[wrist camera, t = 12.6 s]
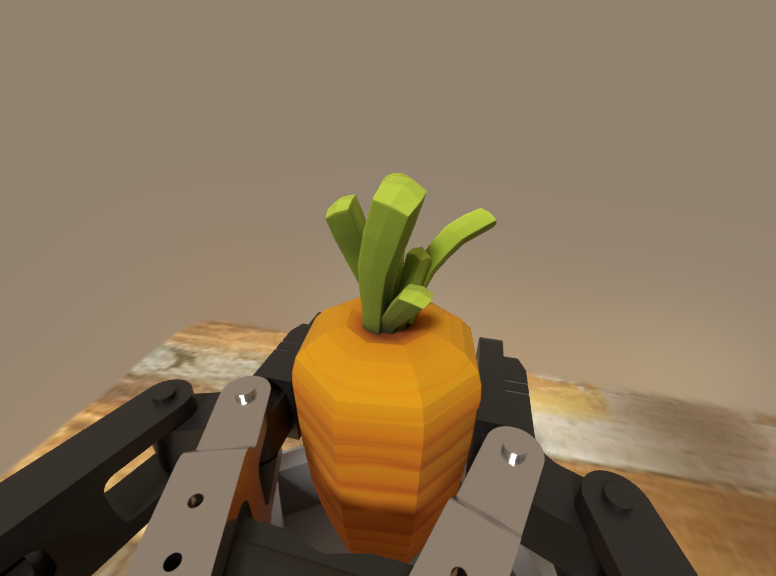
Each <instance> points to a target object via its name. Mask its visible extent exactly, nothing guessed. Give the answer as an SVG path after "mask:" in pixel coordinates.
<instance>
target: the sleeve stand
mask: <svg viewBox="0 0 776 576" xmlns="http://www.w3.org/2000/svg"><path fill="white" fill-rule="evenodd" d="M466 463H467V460H466ZM466 463H465V467H464V471H463V474H462V478H461V481H460V485H459V489H458V492H459V490H460V488H461V486H462V484H463V482H464V480H465V478H466ZM458 492H457V493H458ZM271 524H272V525H276V526H279V527H283V528H285V529H287V530H288V531H290V532H291V533H293V534H294V535H296V536H297V537H299V538H300V539H301V540H303V541H304V542H306V543H307V544H309V545H310V546H312V547H313V548H315V549H316V550H317V551H319V552H321V553H325V554H347V553H350V552H349V551H348V549H347V548H346V546H345V545H344V543H343V542H342V540H341V539H340V537H339V535H338V534H337V532H336V531H335V529H334V527H333V525H332V523H331V521H330V519H329V517H328V515H327V513H326V512H325V510H324V508H323V506H322V503H321V501H320V498H319V496H318V494H317V491H316V489H315V486H314V484H313V482H312V479H311V476H310V471H309V467H308V462H307V458H306V453H305V449H304V445H303V446H300V447H296V448H293V449H289V450H286V451H283V452H282V458H281V464H280V469H279V475H278V480H277V486H276V491H275V497H274V502H273V508H272V514H271ZM422 550H423V549H422ZM422 550H421V551H420V552H419V553H418V554H417V555H416V556H415V557H414V558H413V559H412V560H411V561H410V562H409V563H408V564H410V565H415V563H416V561H417V559H418V557H419V555H420V554H421V552H422ZM510 576H557V573H556V571H555V568H554V565H553V564H552V563H550V562H549V561H547V560H545V559H544V558H542V557H541V556H539V555H537V554H536V553H534V552H532V551H531V550H529V549H528V548H526V547H524V546H523V545H521V544H520V545H519V548H518V551H517V554H516V558H515V561H514V564H513V567H512V571H511V574H510Z"/></svg>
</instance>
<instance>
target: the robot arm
mask: <svg viewBox="0 0 776 576" xmlns="http://www.w3.org/2000/svg"><path fill="white" fill-rule="evenodd" d="M319 314H321V312H319V313H318V314H317V315H316V316H315V317H314V318H313V320H312V321H311V322H310V323H309V325H308V324H301V325H300V326H298V327H296V328H295V329H293V330H291V331H290V332H289V333H288V335H287V336H286V337H285V338H284V339H283V342H281V343H280V344H279V345H278V346H277V349H276V350H274V351H273V352H272V354H271V355H270V356H269V357H268V358H267V359H266V361H265V362H264V363H263V364H262V365H261V367H260V368H259V369H258V370H257V371H256V373H255V374H254V375H253V376H246V377H242V378H239V379H236V380H234V381H232V382H231V383H229V384H228V385H227V386H225V387H224V389H223V390H222V391H221V392H217V393H201V394H194V391H193V388H192V385H191V384H190V383H189V382H187V381H185V380H178V379H176V380H168V381H164V382H161V383H158V384H156V385H154V386H152V387H151V388H149V389H147V390H146V391H144V392H143V393H141V394H139V395H138V396H136V397H135V398H133V399H131V400H130V401H128V402H127V403H125V404H124V405H122V406H120V407H119V408H117V409H116V410H114V411H113V412H111V413H109V414H108V415H106V416H105V417H103V418H101V419H100V420H98V421H97V422H95V423H94V424H92V425H90V426H89V427H87V428H86V429H84V430H83V431H81V432H79V433H78V434H76V435H75V436H73V437H71V438H70V439H68V440H67V441H65V442H64V443H62V444H60V445H59V446H57V447H56V448H54V449H53V450H51V451H49V452H48V453H46V454H45V455H43V456H41V457H40V458H38V459H37V460H35V461H34V462H32V463H30V464H29V465H27V466H26V467H24V468H23V469H21V470H19V471H18V472H16V473H15V474H13V475H11V476H10V477H8V478H7V479H5V480H4V481H2V482H0V576H91V575H92V574H94V573H95V572H96V571H97V570H98V569H99V568H100V567H101V566H102V565H103V564H104V563H105V562H107V561H108V560H109V559H110V558H111V557H112V556H113V555H114V554H115V553H116V552H117V551H118V550H119V549H121V548H122V547H123V546H124V545H125V544H126V543H127V542H128V541H129V540H130V539H131V538H132V537H134V536H135V535H136V534H137V533H138V532H139V531H140V530H141V529H142V528H143V527H144V526H145V525H146V524H148V523H149V524H148V526H147V528H146V530H145V532H144V534H143V537H142V539H141V541H140V543H139V545H138V547H137V549H136V552H135V554H134V556H133V558H132V560H131V562H130V565H129V567H128V569H127V571H126V573H125V575H124V576H510V574H511V571H512V567H513V564H514V561H515V558H516V554H517V551H518V548H519V545H520V544H521V545H523V546H524V547H526V548H528V549H529V550H531V551H532V552H534V553H536V554H537V555H539V556H541V557H542V558H544V559H545V560H547V561H549V562H550V563H552V564H553V565H554V568H555V571H556V573H557V576H698V575H697V573H696V572H695V570H694V569H693V567H692V565H691V564H690V562H689V561H688V559H687V558H686V556H685V555H684V553H683V552H682V550H681V549H680V547H679V545H678V544H677V542H676V541H675V539H674V538H673V536H672V535H671V533H670V532H669V530H668V529H667V527H666V525H665V524H664V522H663V521H662V519H661V518H660V516H659V515H658V513H657V512H656V510H655V508H654V507H653V505H652V504H651V502H650V501H649V499H648V498H647V497H646V495H645V494H644V493H643V492H642V491H641V490H640V489H639V488H638V487H637V486H636V485H635V484H633V483H632V482H631V481H629V480H627V479H626V478H624V477H622V476H620V475H618V474H615V473H613V472H609V471H602V470H598V471H592V472H590V473H588V474H587V475H586V476H585V477H582V476H580V475H578V474H576V473H574V472H572V471H570V470H568V469H566V468H564V467H562V466H560V465H558V464H557V463H555V462H554V461H552V460H551V459H550V458H549V457H548V456H547V455H546V454H545V453H544V452H543V450H542V447H541V446H540V444H539V443H538V442H537V441H536V439H535V435H534V428H533V420H532V413H531V405H530V397H529V390H528V385H527V384H528V382H527V375H526V370H525V369H524V367H523V366H522V364H521V363H520V361H519V360H518V359H516V358H509V357H504V356H503V342H502V341H501V340H495V339H488V338H482V337H480V338H479V342H478V348H477V354H476V360H477V365H478V371H479V376H480V382H481V400H480V405H479V408H478V409H477V413H476V418H475V423H474V428H473V433H472V439H471V444H470V449H469V453H468V456H467V463H466V478H465V480H464V482H463V484H462V486H461V488H460V490H459V492H458V493H457V495H456V496H455V497H454V496H452V497H451V498H450V499H449V501H448V502H447V504H446V506H445V507H444V509H443V511H442V513H441V515H440V517H439V519H438V521H437V523H436V525H435V527H434V529H433V531H432V532H431V534H430V536H429V538H428V540H427V542H426V544H425V546H424V548H423V550H422V552H421V554H420V555H419V557H418V559H417V561H416V563H415V565H410V564H407V563H404V562H400V561H397V560H393V559H390V558H386V557H383V556H379V555H376V554H372V553H347V554H325V553H321V552H319V551H317V550H316V549H315V548H313V547H312V546H310V545H309V544H307V543H306V542H304V541H303V540H301V539H300V538H299V537H297V536H296V535H294V534H293V533H291V532H290V531H288V530H287V529H285V528H283V527H279V526H276V525H272V524H271V514H272V508H273V502H274V497H275V491H276V486H277V480H278V475H279V469H280V464H281V458H282V447H281V446H282V445H283V443H284V441H285V439H286V438H287V437H289V438H293V439H298V440H299V439H300V437H301V430H300V424H299V418H298V412H297V407H296V401H295V395H294V390H293V384H292V371H293V367H294V362H295V358H296V356H297V354H298V352H299V350H300V348H301V346H302V344H303V342H304V340H305V338H306V336H307V334H308V332H309V330H310V328H311V326H312V324H313V322H314V320H315V318H316V317H317V316H318V315H319ZM150 446H153V448H154V450H155V454H154V455H153V456H151V457H150V458H149V459H148V460H146V461H145V462H144V463H143V464H141V465H140V466H139V467H137V468H136V469H135V470H134V471H132V472H131V473H130V474H129V475H127V476H126V477H125V478H123V479H122V480H121V481H120V482H118V483H117V484H116V485H115V486H113V487H112V488H111V489H109V490H108V491H107V492H105V493H104V488H105V485H106V483H107V482H108V480H109V479H110V478H111V477H112V476H113V475H114V474H115V473H116V472H118V471H119V470H120V469H121V468H123V467H124V466H125V465H127V464H128V463H129V462H131V461H132V460H133V459H135V458H136V457H137V456H138V455H140V454H141V453H142V452H144V451H145V450H146V449H148V448H149V447H150Z"/></svg>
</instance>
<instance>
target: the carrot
mask: <svg viewBox="0 0 776 576" xmlns="http://www.w3.org/2000/svg"><path fill="white" fill-rule="evenodd" d="M426 193H427V191H426V190H425V189H424V188H422V187H421V186H420V185H419V184H418V183H416V182H415V181H414V180H413V179H411V178H409V176H407V175H405V174H402V173H393V174H390V175H388V176H386V177H385V178H384V179H383V180H382V181H381V184H380V187H379V189H378V190H377V192H376V194H375V196H374V198H373V199H372V203H371V206H370V210H369V213H368V217H367V220H366V219H365V216H364V214H363V211H362V209H361V206H360V204H359V201H358V199H357V196H356V195H349V196H344V197H342V198H340V199H339V200H337V201H336V202H335V203H334V204H333V205H332V206H331V207H330V208H328V211H327V214H326V221H327V223H328V225H329V227H330V230H331V232H332V234H333V237H334V239H335V241H336V242H337V244H338V246H339V248H340V250H341V252H342V253H343V255H344V257H345V259H346V261H347V263H348V265H349V266H350V268H351V270H352V272H353V274H354V275H355V277H356V279H357V281H358V283H359V289H360V297H358V298H356V299H353V300H350V301H347V302H345V303H342V304H339V305H336V306H334V307H331V308H328V309H325V310H324V311H323V312H322V313H321V314H319V315H318V316H317V317H316V318H315V320H314V322H313V324H312V326H311V328H310V330H309V332H308V334H307V336H306V338H305V340H304V342H303V344H302V346H301V348H300V350H299V352H298V354H297V356H296V358H295V362H294V367H293V371H292V384H293V390H294V395H295V401H296V407H297V412H298V418H299V424H300V430H301V435H302V440H303V444H304V449H305V453H306V458H307V462H308V467H309V471H310V476H311V479H312V482H313V484H314V486H315V489H316V491H317V494H318V496H319V498H320V501H321V503H322V506H323V508H324V510H325V512H326V513H327V515H328V517H329V519H330V521H331V523H332V525H333V527H334V529H335V531H336V532H337V534H338V535H339V537H340V539H341V540H342V542H343V543H344V545H345V546H346V548H347V549H348V551H349V552H350V553H372V554H376V555H379V556H383V557H386V558H390V559H393V560H397V561H400V562H404V563H407V564H408V563H409V562H410V561H411V560H412V559H413V558H414V557H415V556H416V555H417V554H418V553H419V552H420V551H421V550H422V549H423V548H424V546H425V544H426V542H427V540H428V538H429V536H430V534H431V532H432V531H433V529H434V527H435V525H436V523H437V521H438V519H439V517H440V515H441V513H442V511H443V509H444V507H445V506H446V504H447V502H448V501H449V499H450V498H451V497H452V496H454V497H455V496H456V495H457V492H458V489H459V485H460V481H461V478H462V474H463V471H464V467H465V463H466V460H467V456H468V453H469V449H470V444H471V439H472V433H473V428H474V423H475V418H476V413H477V409H478V408H479V405H480V400H481V382H480V376H479V371H478V365H477V360H476V355H475V349H474V344H473V338H472V333H471V328H470V327H469V326H468V325H467V324H466V323H465V322H463V321H462V320H461V319H460V318H458V317H456V316H455V315H453V314H451V313H449V312H448V311H446V310H444V309H442V308H440V307H439V306H437V305H435V304H433V303H431V300H432V298H433V295H434V293H432V292H431V291H429V290H428V289H427V286H428V284H429V283H430V281H431V279H432V277H433V275H434V274H435V273H436V271H437V270H438V269H439V268H440V267H441V266H442V265H443V264H444V262H445V261H446V260H447V259H448V258H449V257H450V256H451V255H452V254H453V253H454V252H456V251H457V250H458V249H459V248H460V247H461V246H462V245H463V244H464V243H466V242H468V241H470V240H471V239H473V238H475V237H477V236H479V235H480V234H482V233H484V232H486V231H487V230H489V229H491V228H493V227H494V226H495V225H496V219H495V218H494V217H493V216H492V214H491V213H489V212H488V211H486V210H484V209H482V208H480V209H478V210H475V211H473V212H470V213H468V214H466V215H464V216H462V217H461V218H459V219H457V220H455V221H454V222H452V223H450V224H449V225H447V226H446V227H445V228H444V229H443V230H442V231H441V232H440V233H439V234H438V236H437V237H436V238H435V239H434V240H433V241H432V243H431V244H430V245H429V246H428V248H427V249H426V251H425V250H424V249H423V248H422V247H419V248H413V249H411V250H410V251H409V252H408V253H407V256H406V259H405V263H404V255H405V248H406V246H407V243H408V241H409V238H410V236H411V233H412V231H413V228H414V226H415V223H416V220H417V218H418V215H419V212H420V210H421V207H422V204H423V201H424V198H425V196H426ZM403 265H404V267H403Z"/></svg>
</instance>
